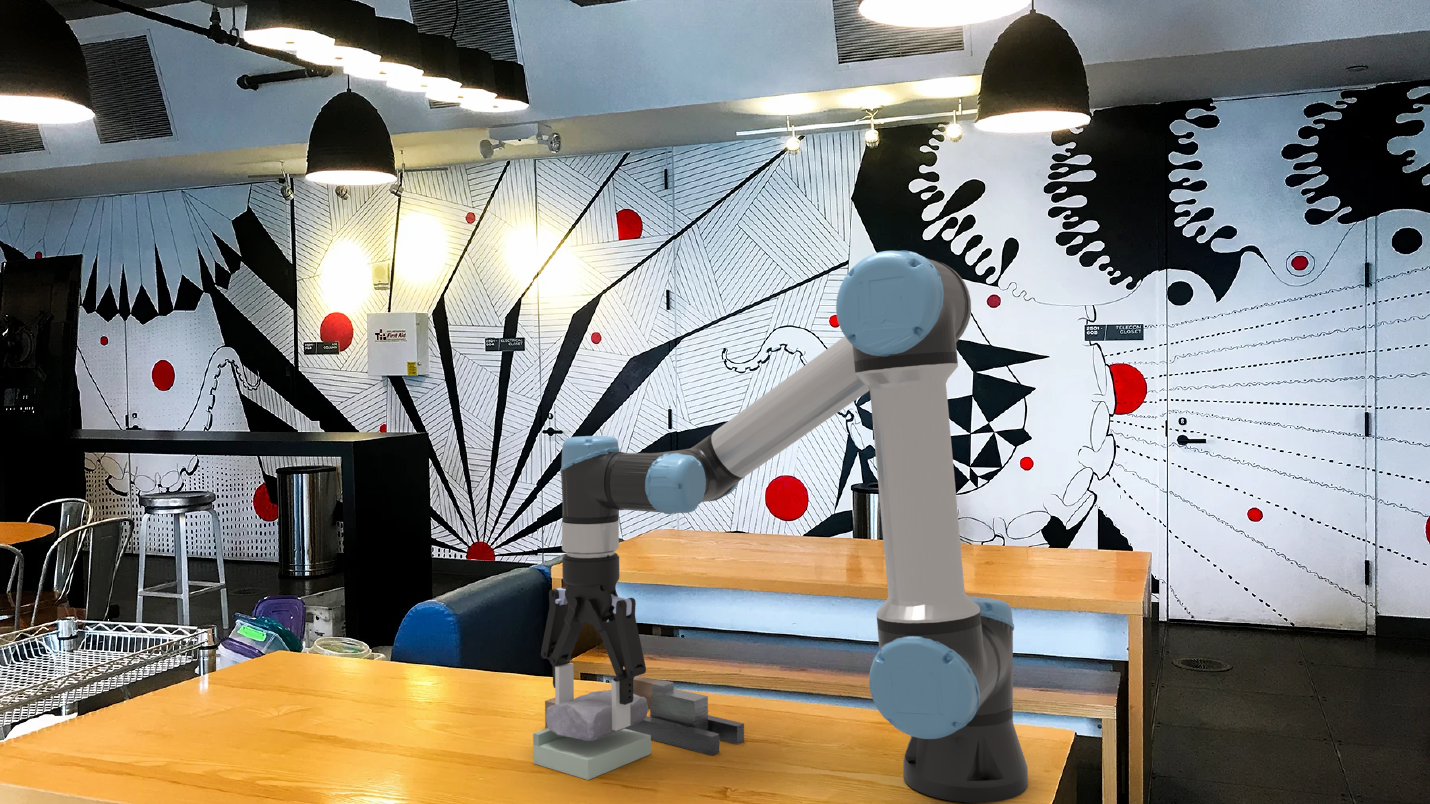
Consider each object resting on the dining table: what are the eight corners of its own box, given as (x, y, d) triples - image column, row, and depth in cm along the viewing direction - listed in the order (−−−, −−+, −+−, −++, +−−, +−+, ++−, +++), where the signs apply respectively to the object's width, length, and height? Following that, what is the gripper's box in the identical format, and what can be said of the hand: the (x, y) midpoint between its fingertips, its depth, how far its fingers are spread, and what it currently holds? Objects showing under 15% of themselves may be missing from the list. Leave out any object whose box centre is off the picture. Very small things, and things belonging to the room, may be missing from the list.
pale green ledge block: (651, 753, 148) (650, 724, 148) (587, 780, 139) (587, 748, 139) (597, 739, 154) (597, 710, 154) (533, 763, 145) (533, 733, 145)
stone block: (539, 743, 144) (594, 742, 138) (534, 706, 145) (589, 703, 139) (601, 723, 154) (655, 722, 148) (596, 688, 154) (650, 685, 149)
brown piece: (673, 709, 168) (672, 683, 168) (589, 740, 154) (589, 712, 154) (629, 699, 173) (629, 673, 173) (545, 728, 159) (545, 700, 159)
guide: (744, 741, 153) (744, 723, 153) (712, 755, 147) (712, 736, 147) (657, 719, 163) (657, 703, 163) (624, 732, 157) (623, 715, 157)
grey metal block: (708, 738, 154) (707, 688, 154) (694, 744, 152) (694, 693, 152) (664, 727, 159) (664, 679, 159) (651, 733, 157) (650, 684, 157)
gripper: (673, 557, 142) (675, 728, 142) (552, 541, 156) (554, 698, 156) (634, 565, 136) (635, 744, 136) (512, 548, 150) (514, 711, 150)
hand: (592, 720), depth 146 cm, fingers closed on stone block, 10 cm apart
